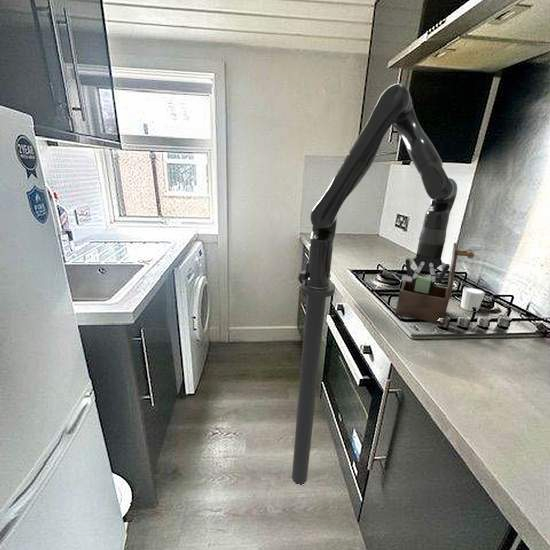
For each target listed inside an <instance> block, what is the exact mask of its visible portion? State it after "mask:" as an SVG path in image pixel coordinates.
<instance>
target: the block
mask: <svg viewBox="0 0 550 550" xmlns="http://www.w3.org/2000/svg"><path fill="white" fill-rule="evenodd" d="M430 283H431V277H427V276H421V275H418V276H417V279H416V284H415V289H414V291H416V292H421V293H427V294H428V292H429V288H430Z"/></svg>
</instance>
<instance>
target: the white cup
mask: <svg viewBox="0 0 550 550" xmlns="http://www.w3.org/2000/svg"><path fill="white" fill-rule="evenodd" d="M485 295H486V292H485V291H484V290H482V289H479V288H475V287H463V289H462V296H461V302H460V307H461V309H463V310H465V311H470V312H474V311H473V309H472V307H476V308H477V309H476V311H475V312H478V311H479V309H480V307H481V305H482V302H483V300H484V297H485Z"/></svg>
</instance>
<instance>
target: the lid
mask: <svg viewBox="0 0 550 550" xmlns="http://www.w3.org/2000/svg"><path fill="white" fill-rule="evenodd" d="M458 256H459V257H460V256H461V257H467V258H468V259H473V258H474V257H475V254H474V250H472V249H467V250H459V248H458V243H457V242H454V243H453V246H452V253H451V261H450V268H449V274H448V282H447V288H448V299H449V300H451V299H452V294H453V289H454V288H453V286H454V281H455V273H456V268H457V262H458V261H457V260H458Z"/></svg>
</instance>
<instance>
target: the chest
mask: <svg viewBox="0 0 550 550" xmlns="http://www.w3.org/2000/svg"><path fill="white" fill-rule="evenodd" d="M411 283H412V280H411V281H410V280H403V282H402V285H401V287H400V290H399V294H398V300H397V305H396V309H395V310H396V311H395V315H397V316H398V315H399V316H402V317H407V318H410V319H411V318H412V319H415V320H419V321H424V322H429V323H433V324H437V325H441V326H442V325H444V322H443V323H441V322H440V321H437V320H438V319H439V318H444V319H445V318H446V314H447V311H448V306H449V302H450V299H448V287H445V286H444V287H443V286H439V285H434V290H433V291H431V292H428V294H427V293H421V292H416V291H414V289H413V287H411Z"/></svg>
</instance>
